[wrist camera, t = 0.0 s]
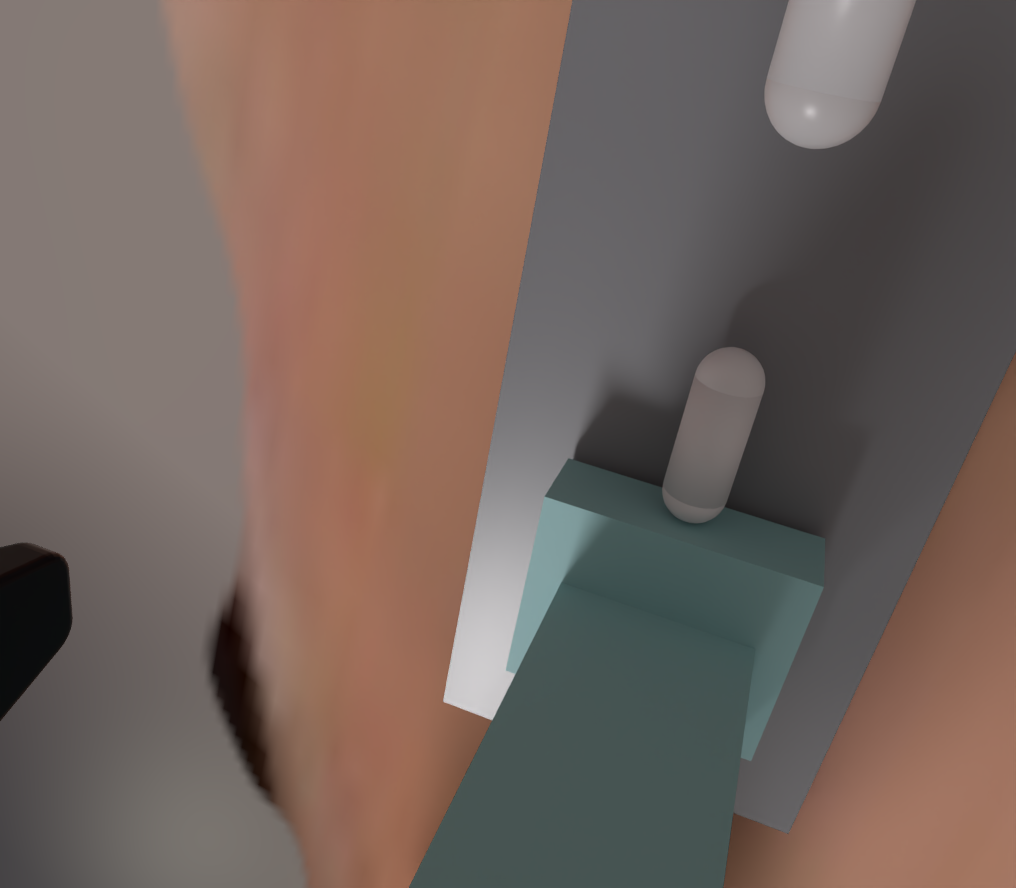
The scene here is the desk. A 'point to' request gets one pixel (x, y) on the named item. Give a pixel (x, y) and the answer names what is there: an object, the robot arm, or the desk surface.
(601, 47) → the track
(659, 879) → the teal upright block
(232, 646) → the desk surface
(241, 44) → the desk surface
